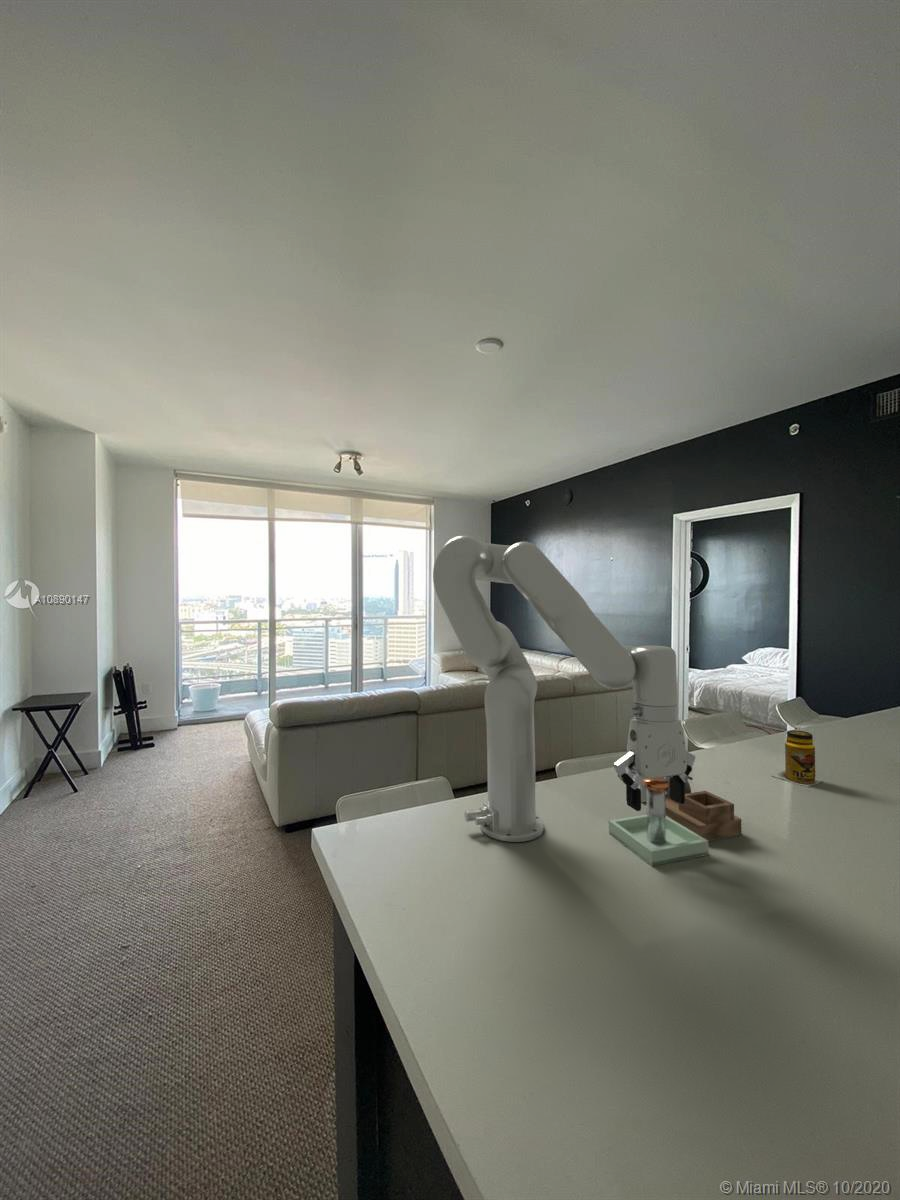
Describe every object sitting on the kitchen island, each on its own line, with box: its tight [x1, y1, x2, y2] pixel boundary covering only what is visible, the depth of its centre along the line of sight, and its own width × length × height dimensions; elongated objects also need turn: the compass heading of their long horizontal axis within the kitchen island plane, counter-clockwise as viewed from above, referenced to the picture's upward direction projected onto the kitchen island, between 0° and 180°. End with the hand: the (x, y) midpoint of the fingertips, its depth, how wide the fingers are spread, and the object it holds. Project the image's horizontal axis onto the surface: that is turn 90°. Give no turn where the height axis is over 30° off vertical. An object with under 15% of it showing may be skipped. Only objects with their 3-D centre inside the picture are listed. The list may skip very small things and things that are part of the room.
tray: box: [608, 814, 709, 867], centre depth 87 cm, size 12×12×2 cm
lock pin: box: [643, 777, 669, 845], centre depth 88 cm, size 4×4×11 cm
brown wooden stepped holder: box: [664, 775, 743, 841], centre depth 96 cm, size 10×14×8 cm
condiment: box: [770, 729, 823, 788], centre depth 119 cm, size 7×8×12 cm
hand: (655, 804), depth 88 cm, fingers open, 9 cm apart
